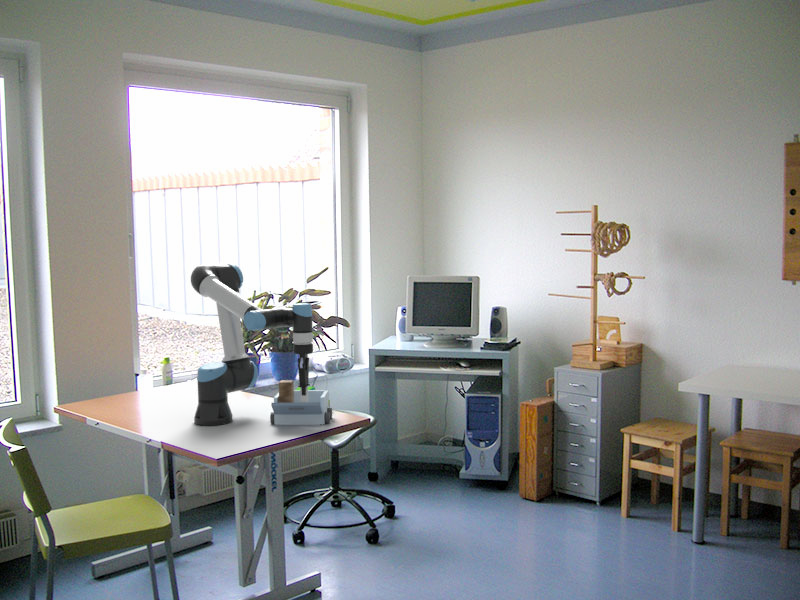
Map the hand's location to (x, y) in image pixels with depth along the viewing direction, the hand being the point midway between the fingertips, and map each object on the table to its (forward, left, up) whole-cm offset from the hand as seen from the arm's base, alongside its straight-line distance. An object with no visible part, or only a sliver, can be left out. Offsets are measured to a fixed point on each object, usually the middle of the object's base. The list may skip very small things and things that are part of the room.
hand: (304, 403), depth 299 cm
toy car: (-1, +29, -10) cm, 31 cm away
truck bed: (-3, +13, -10) cm, 16 cm away
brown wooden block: (-9, +8, -5) cm, 13 cm away
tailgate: (-3, +4, -5) cm, 7 cm away
